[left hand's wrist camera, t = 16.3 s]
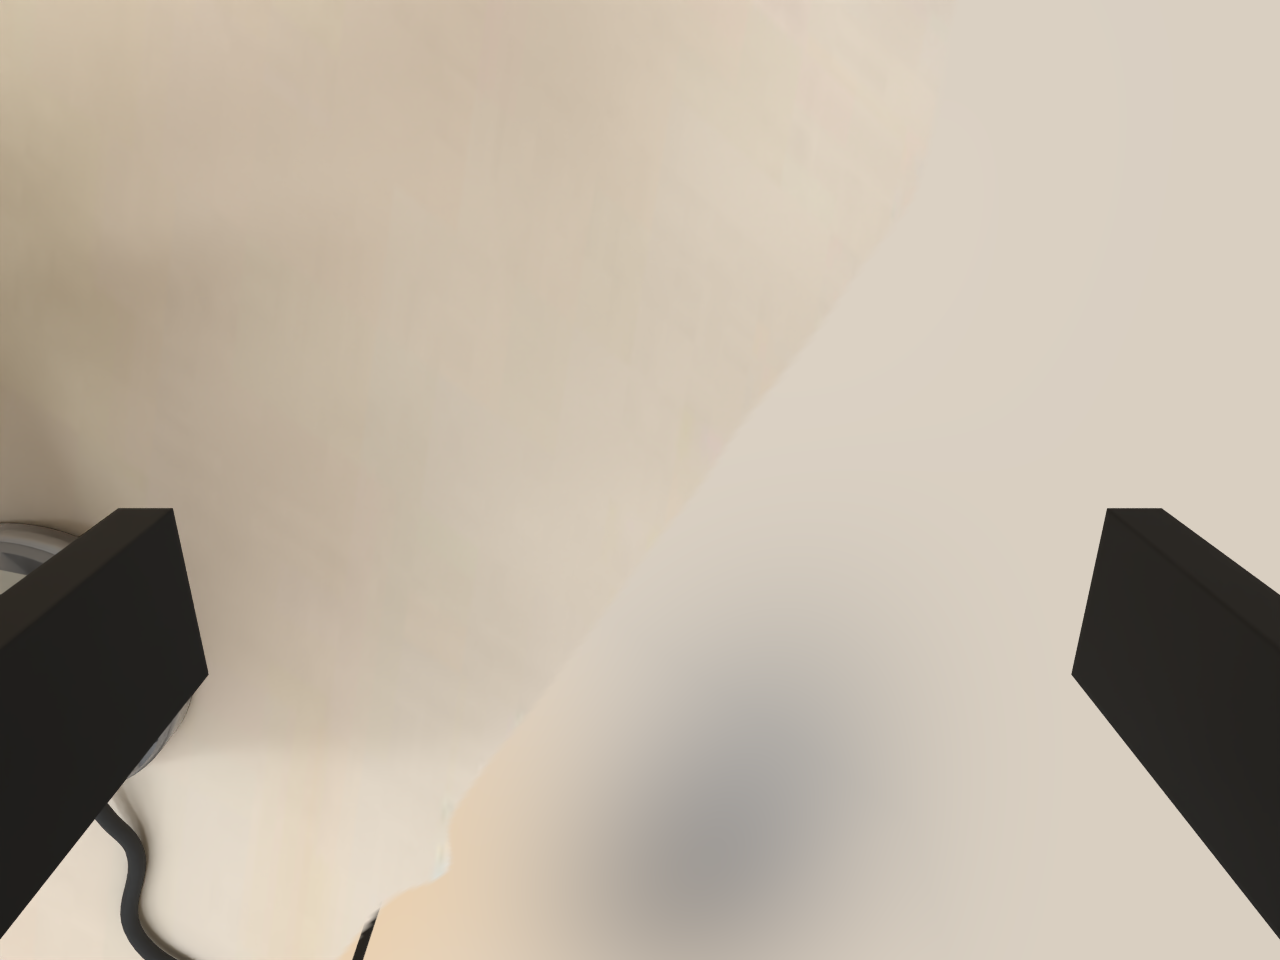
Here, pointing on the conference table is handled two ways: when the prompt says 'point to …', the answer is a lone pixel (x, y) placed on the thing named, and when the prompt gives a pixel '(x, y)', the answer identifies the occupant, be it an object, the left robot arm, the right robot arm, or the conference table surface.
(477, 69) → the conference table surface
